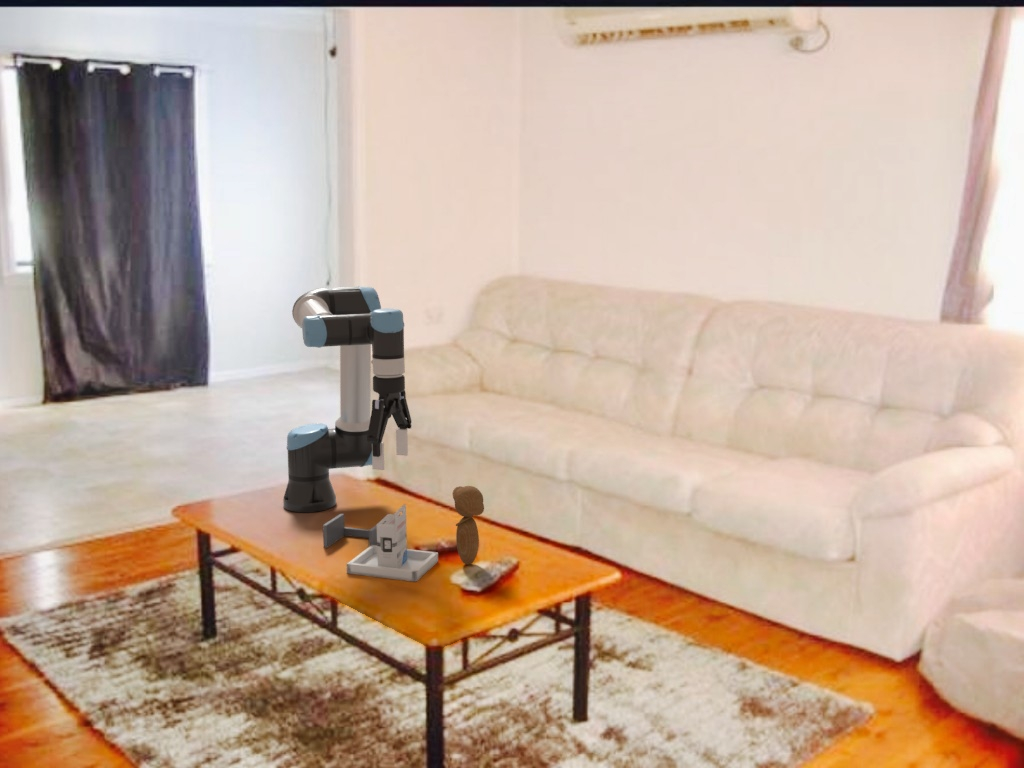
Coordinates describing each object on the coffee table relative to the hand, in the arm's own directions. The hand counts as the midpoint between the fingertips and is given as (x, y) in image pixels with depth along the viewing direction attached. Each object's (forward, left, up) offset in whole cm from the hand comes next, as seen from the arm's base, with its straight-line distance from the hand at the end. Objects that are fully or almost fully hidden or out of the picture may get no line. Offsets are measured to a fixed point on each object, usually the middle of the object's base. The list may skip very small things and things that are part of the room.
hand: (390, 462), depth 248 cm
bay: (-12, -16, -27) cm, 33 cm away
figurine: (-7, +17, -27) cm, 33 cm away
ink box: (0, 0, -26) cm, 26 cm away
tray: (0, 0, -27) cm, 27 cm away
